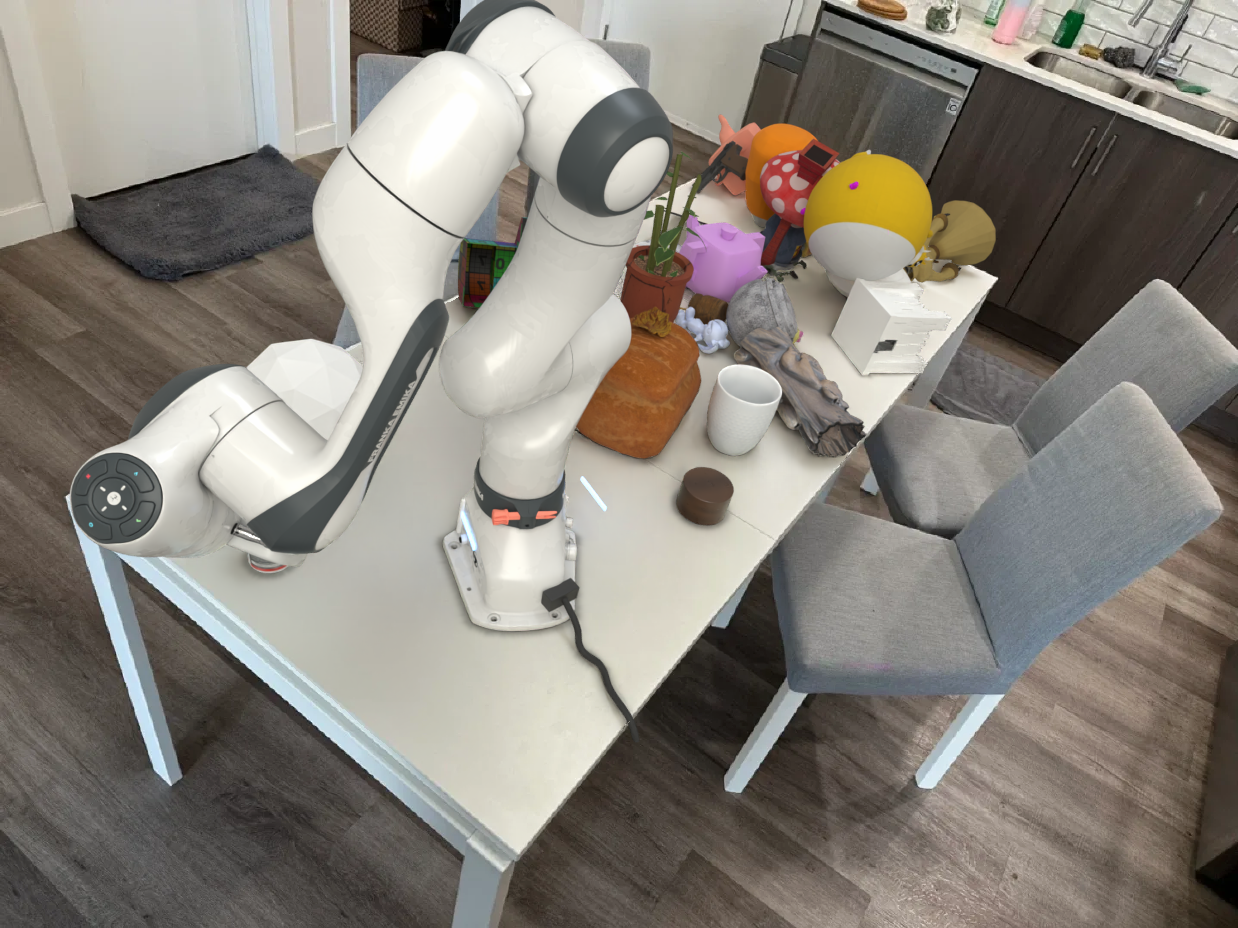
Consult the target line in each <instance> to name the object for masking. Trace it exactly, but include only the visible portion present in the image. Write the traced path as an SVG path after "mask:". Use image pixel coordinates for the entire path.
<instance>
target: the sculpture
mask: <svg viewBox="0 0 1238 928" xmlns="http://www.w3.org/2000/svg"><path fill="white" fill-rule="evenodd" d="M740 345H741V346H742V347H740V348H739V349H737V350H736V351H735V352H734V354H733V358H734V360H735V361H736V362H735V363H736V365H749V366H753V367H756V368H759V369H761V370H763V371H765V372H767V373H769V374H770V375H771V376H773V377H774V378H775V379H776V380H777V381H778V382H779V384H780V386H781V388H782V396H781V399H780V401H779V404H778V407H777V409H776V412H778V414H779V416H780V418H781V420H782V422H783V423H784V424H785V426H786V427H787V428H788V429H789V430H794V431H799V433H800V436H801V438H802V440H803V442H804V443H805V445H806V446H807V448H808V449H809V452H811V453H812V454H813V455H815V454H817V455H818V457H821V456H824V457H831V458H836V457H838V456H840V457H843V456H844V457H845V455H847V454H849V453H850V452H851V451H852V450H853V449H854V448H857V446H858V443H860V442H861V441H862V440H863V439H864V438H865V437H866V436H867V433H866V432H865V431H864V429H865V427H866V426H865V425H864V423H865V422H864V421H863V420H862V419H861V418H859V417H857V416H854V415H852V414H851V413H850V412H849V411H848V409H850V405H849V404H848V402H846V401H845V400H843V393H842V391H841V390H840V389H839V385H838V383H837V382H836V381H834V380H830V379H827V377H826V375H825V374H824V370H823V367H822V366H821V364H820V362H819V360H818V359H816V358H815V357H814V356H812V355H810V354H808V353H806V352H801V351H800V350H798V348H797V347H796V346H795V344H793V343H792V341H791V338H790V336H789V334H788V333H787V332H783V331H782V330H781V329H780V328H779V327H776V328H774V329H772V330H765V329H763V328H757V329H755V330H753V331H751V332H750V333H749V334H748V335H747V336H746V337H745V338H744V339H743V340H742V341H741V343H740Z"/></svg>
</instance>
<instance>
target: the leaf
mask: <svg viewBox="0 0 1238 928" xmlns="http://www.w3.org/2000/svg"><path fill="white" fill-rule="evenodd" d="M669 317H670V315H669V314H667V313H664V312H662V311H660V310H659V309H658V308H657V307H655V306H654V307H653V308H652V309H650V310H647V311H643V312H641V313H639V314H637V315H635V317H634V319H633V321H632V322H631V324H632V325H635V326H639V327H640V328H645V329H648V330H649V332H653V334H655V333H657V334H659V336H660V337H661V336H662V337H664V336H665V335H667V334H669V333H671V325H672V322H669Z"/></svg>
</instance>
